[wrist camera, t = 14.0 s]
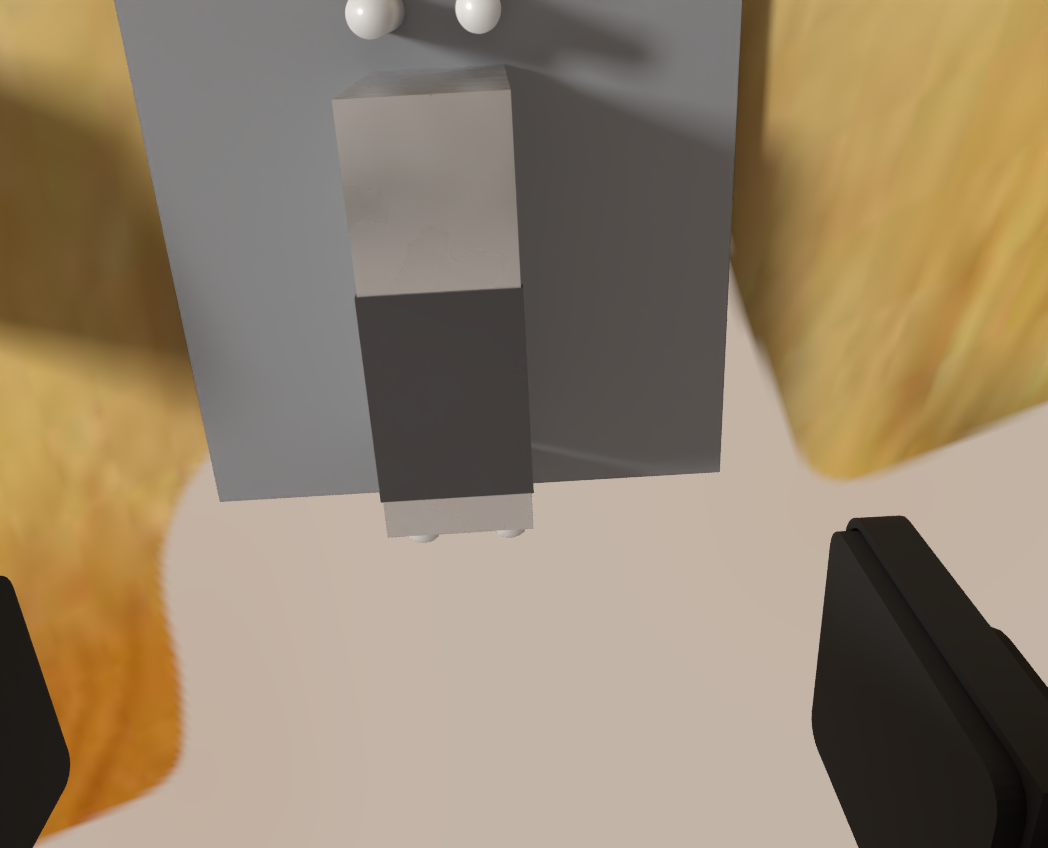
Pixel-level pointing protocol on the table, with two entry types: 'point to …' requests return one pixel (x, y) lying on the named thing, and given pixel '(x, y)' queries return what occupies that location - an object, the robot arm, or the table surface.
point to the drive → (439, 295)
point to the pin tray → (542, 214)
